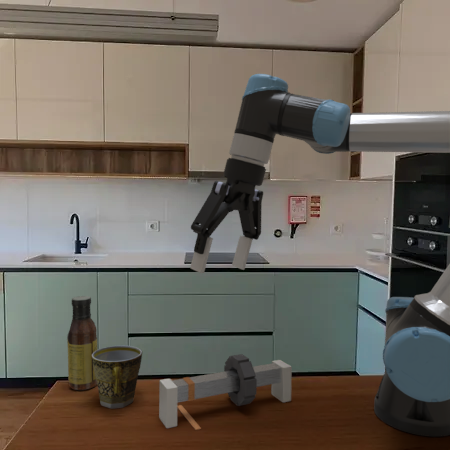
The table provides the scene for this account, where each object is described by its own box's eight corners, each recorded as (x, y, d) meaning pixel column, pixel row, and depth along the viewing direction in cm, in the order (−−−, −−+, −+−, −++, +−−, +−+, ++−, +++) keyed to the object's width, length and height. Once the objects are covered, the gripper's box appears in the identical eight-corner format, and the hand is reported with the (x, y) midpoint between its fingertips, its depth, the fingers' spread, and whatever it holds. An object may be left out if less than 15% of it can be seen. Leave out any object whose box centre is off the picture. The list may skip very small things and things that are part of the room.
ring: (234, 391, 90) (235, 349, 90) (256, 409, 82) (256, 363, 82) (223, 393, 89) (224, 351, 89) (244, 412, 81) (245, 365, 81)
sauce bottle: (86, 378, 99) (86, 293, 98) (104, 384, 95) (104, 296, 95) (61, 387, 94) (61, 297, 93) (78, 395, 90) (79, 301, 89)
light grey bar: (277, 376, 92) (277, 361, 91) (285, 382, 89) (285, 366, 89) (165, 397, 80) (165, 380, 80) (171, 404, 78) (171, 387, 78)
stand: (272, 387, 95) (272, 355, 95) (299, 406, 86) (299, 371, 86) (154, 411, 83) (155, 374, 83) (171, 435, 74) (172, 395, 74)
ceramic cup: (92, 393, 91) (93, 346, 91) (140, 389, 94) (140, 343, 93) (89, 422, 78) (89, 369, 78) (144, 417, 81) (144, 364, 81)
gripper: (263, 167, 92) (238, 260, 95) (190, 144, 71) (160, 264, 74) (294, 174, 88) (266, 272, 90) (225, 152, 67) (192, 279, 70)
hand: (218, 269), depth 82 cm, fingers open, 13 cm apart
